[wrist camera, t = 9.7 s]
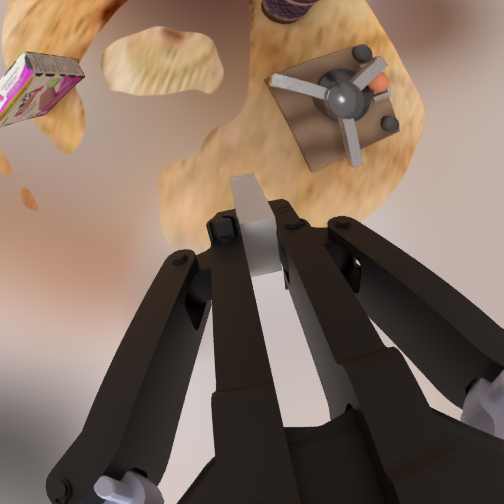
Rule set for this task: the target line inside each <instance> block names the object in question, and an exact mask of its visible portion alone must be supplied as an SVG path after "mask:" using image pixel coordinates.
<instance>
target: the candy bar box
mask: <svg viewBox="0 0 504 504" xmlns="http://www.w3.org/2000/svg"><path fill="white" fill-rule="evenodd" d="M83 78H85V75H84V73H83V71H82V70H81V68H80V66H79V64H78V62H77V60H76V59H73V58H68V57H61V56H55V55H49V54H42V53H34V52H23V53H22V55H21V56H20V57H19V58H18V59H17V60H16V61H15V62H14V64H13V65H12V66H11V67H10V68H9V69H8V71H7V72H6V73H5V74H4V76H3V77H2V78H1V80H0V127H3V126H6V125H10V124H12V123H16V122H19V121H23V120H26V119H30V118H34V117H39V116H43V115H45V114H46V113H47V112H48V111H49V110H50V109H51V108H52V107H53V106H54V105H55V104H56V103H57V102H58V101H59V100H60V99H61V98H62V97H63V96H64V95H65V94H66V93H67V92H68V91H69V90H70V89H72V88H73V87H74V86H75V85H76V84H77V83H78V82H80V81H81V80H82V79H83Z"/></svg>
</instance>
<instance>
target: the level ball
mask: <svg viewBox="0 0 504 504" xmlns="http://www.w3.org/2000/svg"><path fill="white" fill-rule="evenodd" d="M388 85H389V81H388V78H387V77H386V75H385V74H384V73H382V72H380V73H379V74H378V75H377V76H376V77H375V78H374V79H373V80H372V81H371V82H370V83H369V84H368V87H369V88H370V89H371V90H372V91H374V92H383V91H385V90H386V89H387V88H388Z"/></svg>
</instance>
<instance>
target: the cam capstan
mask: <svg viewBox="0 0 504 504" xmlns="http://www.w3.org/2000/svg"><path fill="white" fill-rule="evenodd" d="M387 65H388V64H387V63H386V62H385V60H384V59H383V58H382V57H381V56H377V57H374V58H373V59H372V60H371V61H370V62H369V63H368V64H366V65H365V66H364V67H363V68H362V69H361V70H360V71H359V72H358V73H356V72H354V71H352V70H349V69H344V68H340V69H334V70H330V71H328V72H326V73H325V74H323V75H322V76H321V78H320V79H319V81H318V83H317V85H316V84H312V83H309V82H306V81H302V80H299V79H295V78H291V77H287V76H283V75H279V74H275V73H273V74H271V77H270V81H269V86H271V87H275V88H280V89H284V90H288V91H292V92H296V93H299V94H303V95H307V96H310V97H313V102H314V104H315V106H316V107H317V108H318V109H320V110H322V112H323V113H324V114H325V115H326V116H328V117H329V118H331V119H333V120H335V121H338V122H339V126H340V130H341V134H342V138H343V143H344V147H345V152H346V157H347V162H348V165H350V166H352V167H356V166H359V165H362V164H363V162H362V156H361V151H360V146H359V141H358V136H357V131H356V126H355V122H356V121H358V120H360V119H361V118H362V117H363V116H364V115H365V114H366V113H367V111H368V109H369V106H370V102H371V95H370V90H369V87H368V84H369V83H370V82H371V81H372V80H373V79H374V78H375V77H376V76H377V75H378V74H379V73H380V72H381V71H382V70H383V69H384V68H385V67H386V66H387Z"/></svg>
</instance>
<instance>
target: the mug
mask: <svg viewBox="0 0 504 504" xmlns="http://www.w3.org/2000/svg"><path fill="white" fill-rule="evenodd" d="M318 1H319V0H262V4H261V7H262V11H263V12H264V14H265V15H266V16H267V17H268V18H269V19H270V20H272V21H274V22H277V23H282V24H289V23H293V22H295V21H297V20H298V19H300V18H301V17H303V16H304V15H305V14H306V13H307V11H308V10H309V9H310V8H311V7H312V6H313V5H314V4H315V3H316V2H318Z"/></svg>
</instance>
